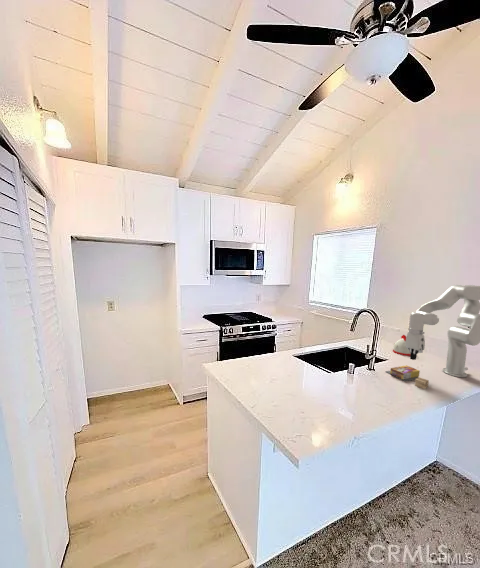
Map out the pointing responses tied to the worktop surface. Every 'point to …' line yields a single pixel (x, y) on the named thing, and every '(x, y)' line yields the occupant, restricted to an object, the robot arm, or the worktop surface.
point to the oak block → (421, 382)
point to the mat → (404, 379)
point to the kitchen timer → (401, 347)
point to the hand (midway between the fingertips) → (413, 359)
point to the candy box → (404, 372)
